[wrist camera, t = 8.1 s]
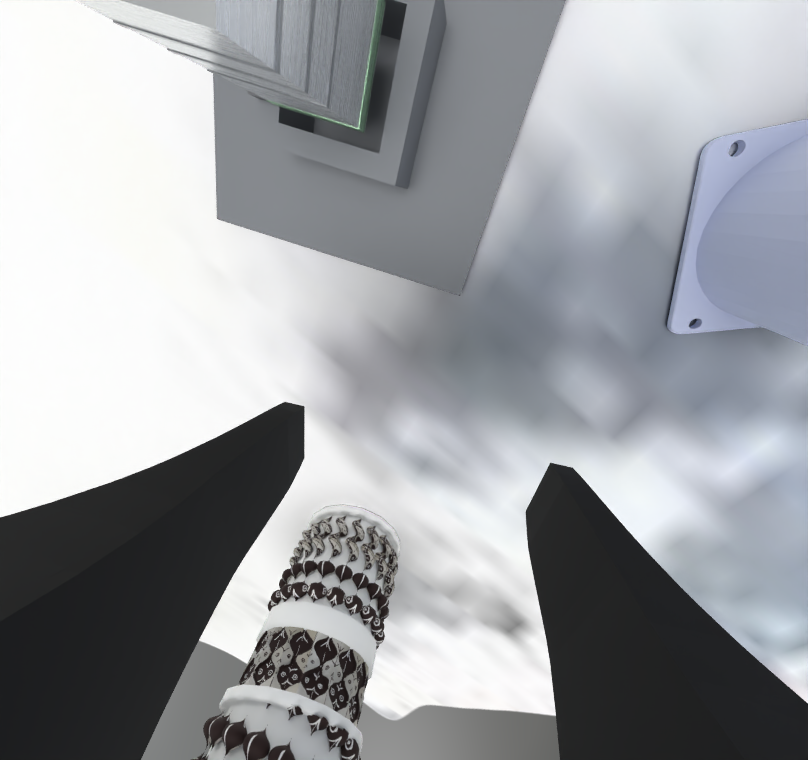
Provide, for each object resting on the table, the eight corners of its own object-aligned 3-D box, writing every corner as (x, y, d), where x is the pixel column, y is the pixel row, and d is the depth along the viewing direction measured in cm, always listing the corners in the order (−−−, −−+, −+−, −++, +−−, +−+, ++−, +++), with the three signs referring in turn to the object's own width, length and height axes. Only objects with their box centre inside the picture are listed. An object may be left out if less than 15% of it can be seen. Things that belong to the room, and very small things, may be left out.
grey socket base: (595, -88, 11) (669, -258, 7) (460, 291, 17) (458, 317, 13) (225, -194, 11) (89, -420, 7) (229, 218, 18) (159, 222, 14)
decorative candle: (417, 521, 26) (187, 1986, 5) (392, 581, 31) (218, 1461, 9) (310, 487, 27) (-374, 1727, 5) (301, 552, 31) (-75, 1342, 10)
